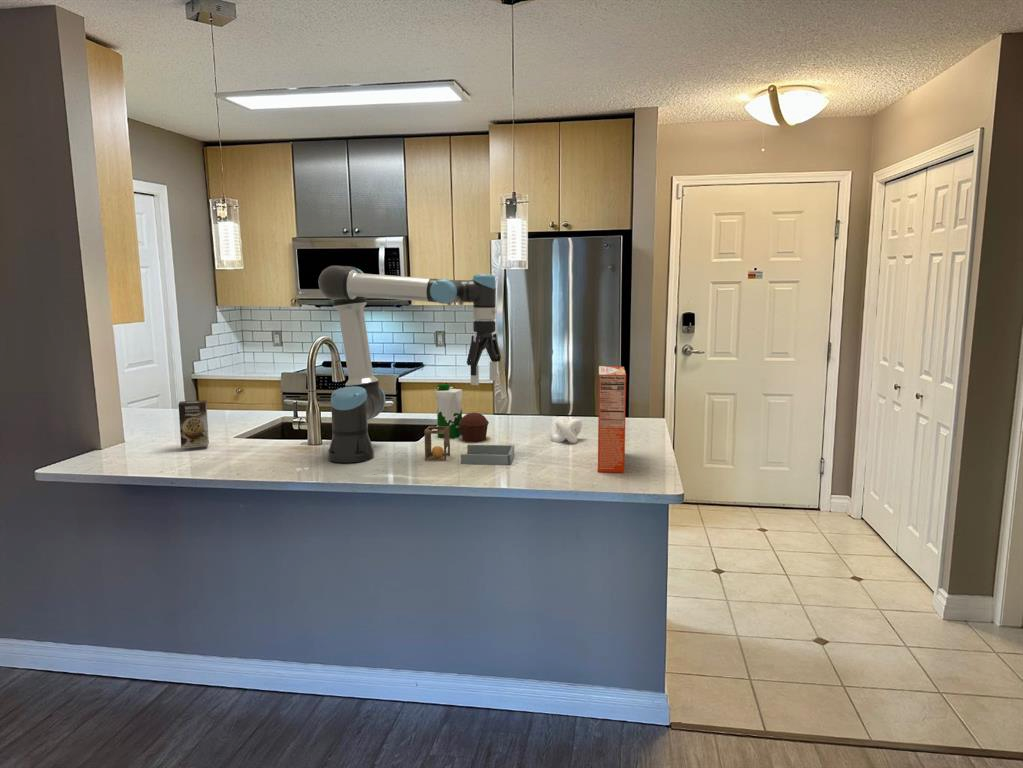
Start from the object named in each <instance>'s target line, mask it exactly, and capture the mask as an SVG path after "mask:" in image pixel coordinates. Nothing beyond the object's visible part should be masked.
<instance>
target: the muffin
mask: <svg viewBox="0 0 1023 768" xmlns="http://www.w3.org/2000/svg"><path fill="white" fill-rule="evenodd" d="M489 423H490V422H489V421H488V419H487V418H486V416H484V415H483V414H482V413H480V412H468V413H467V414H464V416H462V419H461V420H460V421H459V425H460V428H461V434H462V435H461V439H462V442H466V443H479V442H483V441H485V440H487V433H488V428H489V427H488V425H489Z"/></svg>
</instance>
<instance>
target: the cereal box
mask: <svg viewBox="0 0 1023 768" xmlns="http://www.w3.org/2000/svg"><path fill="white" fill-rule="evenodd" d="M626 400H627V373H626V369H625V366H622V365H621V366H620V365H619V366H617V365H616V366H613V365H612V366H611V365H610V366H609V365H607V366H606V365H604V366H603V365H599V366H598V412H597V413H598V418H597V419H598V420H597V421H598V424H597V428H598V431H597V432H598V435H597V438H598V439H597V472H598V473H599V472H600V473H625V467H626V466H625V465H626V464H625V461H626V460H625V459H626V458H625V457H626V456H625V455H626V412H627V411H626V406H627V405H626V404H627V403H626Z"/></svg>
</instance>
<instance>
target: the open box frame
mask: <svg viewBox="0 0 1023 768" xmlns="http://www.w3.org/2000/svg"><path fill="white" fill-rule="evenodd" d="M433 434H435V435H436V434H437V435H438V434H444V438H443V451H444V453H443V456H442V457H440V458H435V457H434V456H433V455H432V435H433ZM423 435H424V461H436V462H438V461H439V462H440V461H442V462H445V461H447V457H449V456H451V438H450V426H438V425H437V426H436V425H429V426H428V427H426V428H425V429H424V434H423Z"/></svg>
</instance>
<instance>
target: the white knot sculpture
mask: <svg viewBox="0 0 1023 768" xmlns="http://www.w3.org/2000/svg"><path fill="white" fill-rule="evenodd" d="M582 427H583V423H582V421H581V419H579V418H573V419H571V420H570V419H569V418H568V417H566V416H557V418H555V419H554V420H553V421H552V423H551V424H550V427H549V437H550V440H551V441H552V442H553V443H564V442H565V441H566V440H567V441H568V442H569V443H570V444H576V443H577V442H578V435H579V434H580V433H581V430H582Z"/></svg>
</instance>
